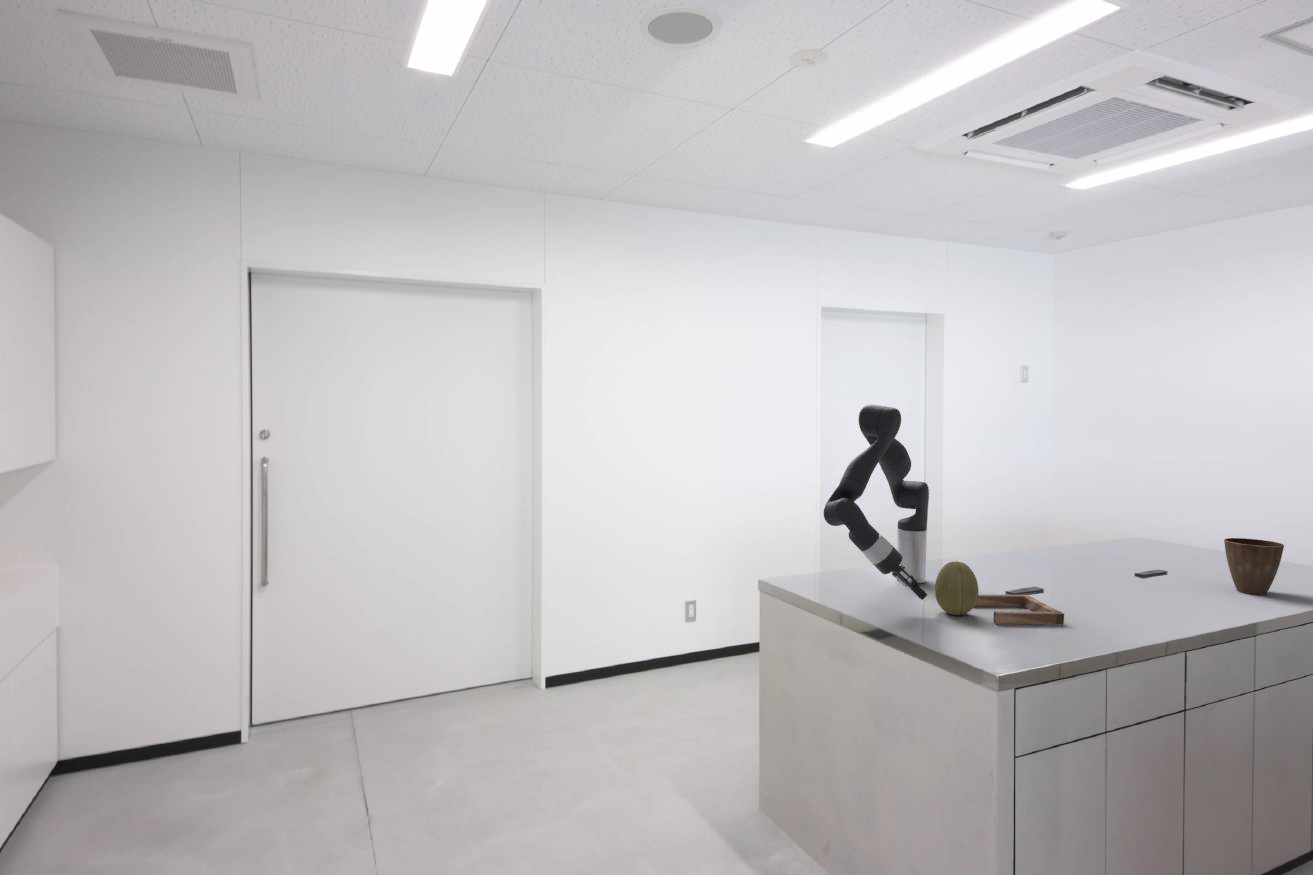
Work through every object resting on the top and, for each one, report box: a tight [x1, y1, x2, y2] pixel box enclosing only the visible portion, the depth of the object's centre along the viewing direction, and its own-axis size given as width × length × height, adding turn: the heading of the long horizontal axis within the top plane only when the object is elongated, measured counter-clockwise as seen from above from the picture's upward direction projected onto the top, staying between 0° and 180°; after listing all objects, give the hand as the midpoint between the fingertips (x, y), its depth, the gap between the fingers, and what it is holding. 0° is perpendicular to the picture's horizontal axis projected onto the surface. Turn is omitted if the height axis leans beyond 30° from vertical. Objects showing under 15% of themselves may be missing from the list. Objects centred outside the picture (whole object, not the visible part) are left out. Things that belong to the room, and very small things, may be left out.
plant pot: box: [1223, 537, 1285, 596], centre depth 240 cm, size 15×15×16 cm
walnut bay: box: [973, 594, 1065, 626], centre depth 214 cm, size 20×18×3 cm
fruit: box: [934, 560, 979, 616], centre depth 213 cm, size 11×11×15 cm
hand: (924, 596), depth 214 cm, fingers closed
